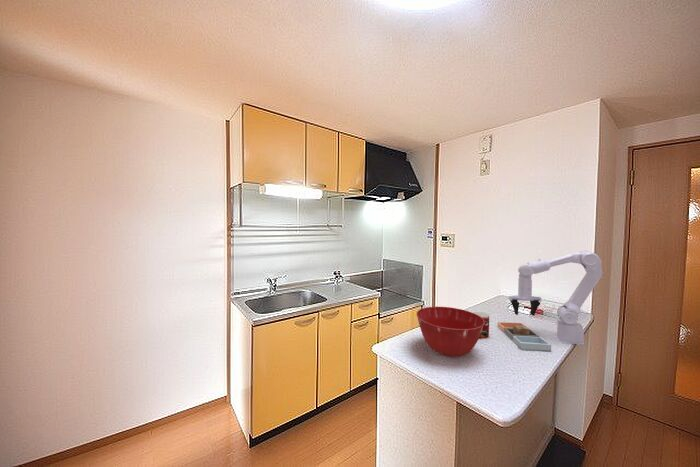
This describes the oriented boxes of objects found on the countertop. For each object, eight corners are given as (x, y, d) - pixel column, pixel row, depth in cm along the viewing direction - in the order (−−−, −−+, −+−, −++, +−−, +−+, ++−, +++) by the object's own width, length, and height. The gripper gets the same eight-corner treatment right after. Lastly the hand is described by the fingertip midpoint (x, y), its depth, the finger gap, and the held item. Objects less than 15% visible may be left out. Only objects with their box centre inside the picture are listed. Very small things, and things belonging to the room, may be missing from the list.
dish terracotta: (521, 328, 143) (521, 323, 143) (529, 334, 135) (529, 329, 134) (497, 327, 144) (497, 321, 144) (503, 333, 136) (503, 327, 136)
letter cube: (524, 335, 133) (524, 325, 133) (529, 339, 128) (529, 328, 128) (513, 334, 134) (513, 324, 134) (518, 338, 129) (518, 328, 129)
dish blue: (540, 343, 125) (540, 337, 125) (551, 351, 117) (551, 344, 117) (512, 341, 127) (512, 335, 127) (521, 349, 119) (521, 343, 118)
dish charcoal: (530, 335, 134) (530, 329, 134) (539, 342, 126) (539, 336, 126) (504, 334, 136) (504, 328, 135) (511, 341, 127) (511, 334, 127)
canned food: (471, 337, 132) (471, 315, 131) (472, 331, 139) (472, 310, 138) (489, 340, 128) (489, 318, 128) (489, 334, 135) (489, 313, 135)
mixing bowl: (486, 344, 123) (487, 312, 123) (481, 374, 99) (482, 333, 98) (425, 332, 138) (425, 303, 137) (407, 355, 113) (408, 320, 113)
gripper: (536, 286, 138) (535, 312, 138) (506, 285, 140) (505, 311, 141) (544, 290, 131) (543, 317, 131) (512, 289, 133) (511, 315, 134)
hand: (524, 314), depth 136 cm, fingers open, 7 cm apart
